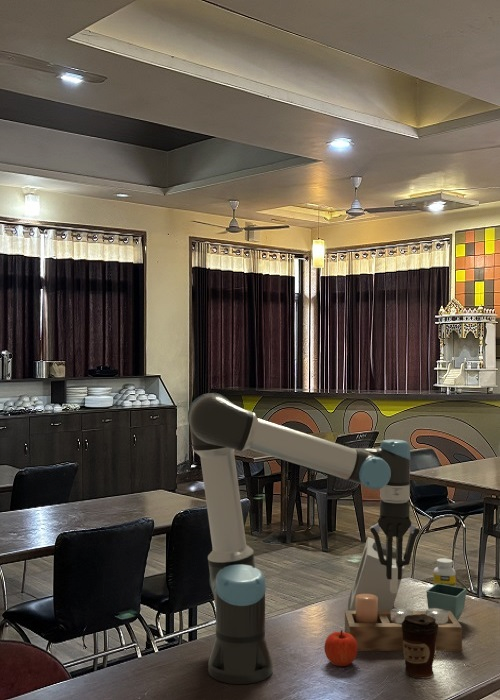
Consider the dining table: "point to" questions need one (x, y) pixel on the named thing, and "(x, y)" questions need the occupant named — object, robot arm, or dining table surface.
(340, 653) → the apple
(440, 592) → the flower pot
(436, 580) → the pill bottle
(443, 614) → the plug far
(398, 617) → the plug mid
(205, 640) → the dining table surface
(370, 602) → the plug terracotta
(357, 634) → the divided box
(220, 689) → the dining table surface
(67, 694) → the dining table surface
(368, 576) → the alarm clock
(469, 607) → the dining table surface
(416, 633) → the coffee cup
